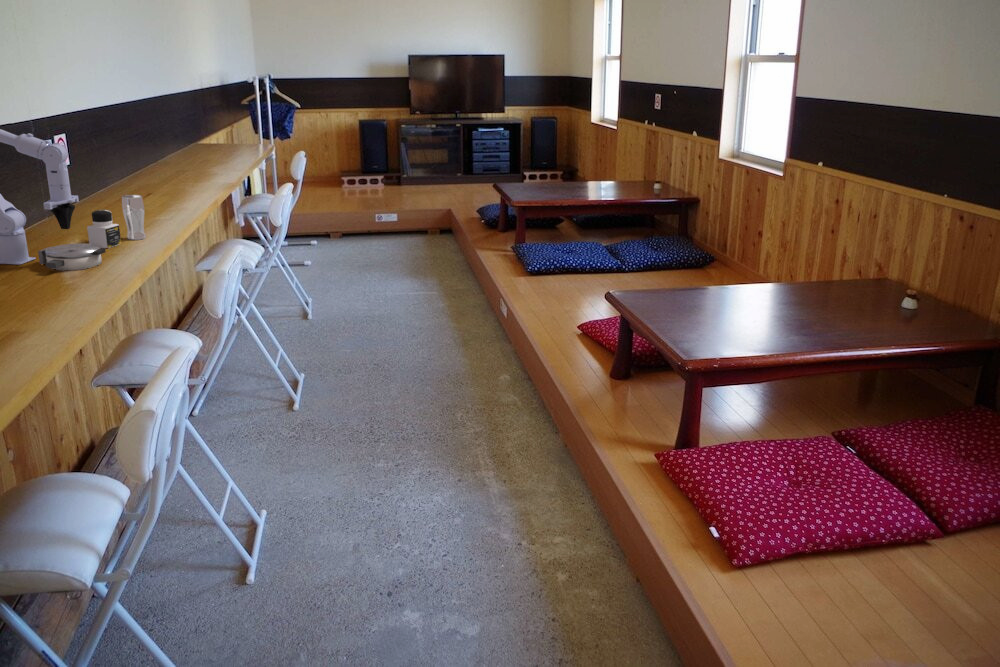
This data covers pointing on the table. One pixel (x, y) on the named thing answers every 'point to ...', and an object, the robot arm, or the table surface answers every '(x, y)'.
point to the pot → (69, 262)
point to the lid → (73, 250)
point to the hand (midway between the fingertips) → (65, 228)
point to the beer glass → (134, 216)
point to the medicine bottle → (103, 230)
